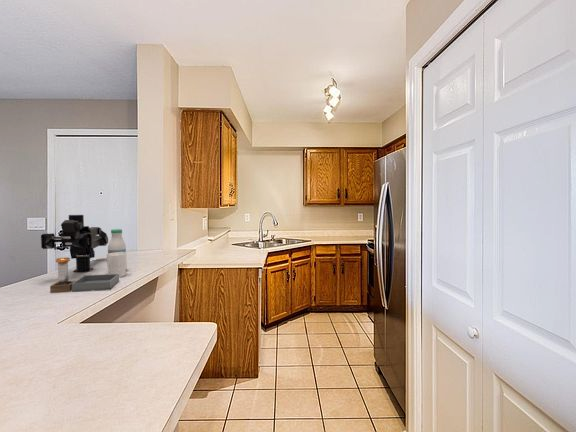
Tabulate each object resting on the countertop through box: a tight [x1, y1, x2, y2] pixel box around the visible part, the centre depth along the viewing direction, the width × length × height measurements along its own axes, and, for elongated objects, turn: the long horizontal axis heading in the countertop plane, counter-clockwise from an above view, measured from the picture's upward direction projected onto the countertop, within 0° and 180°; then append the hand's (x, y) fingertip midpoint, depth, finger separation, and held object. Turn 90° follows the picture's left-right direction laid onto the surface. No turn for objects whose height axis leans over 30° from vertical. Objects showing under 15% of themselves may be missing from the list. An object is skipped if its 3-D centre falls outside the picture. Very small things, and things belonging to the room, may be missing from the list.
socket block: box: [49, 280, 76, 294], centre depth 126 cm, size 6×6×2 cm
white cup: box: [106, 252, 127, 278], centre depth 147 cm, size 8×8×10 cm
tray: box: [71, 274, 120, 293], centre depth 131 cm, size 13×13×3 cm
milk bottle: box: [107, 228, 128, 271], centre depth 155 cm, size 8×8×20 cm
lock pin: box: [55, 257, 71, 285], centre depth 125 cm, size 4×4×12 cm
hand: (59, 243), depth 131 cm, fingers open, 9 cm apart
